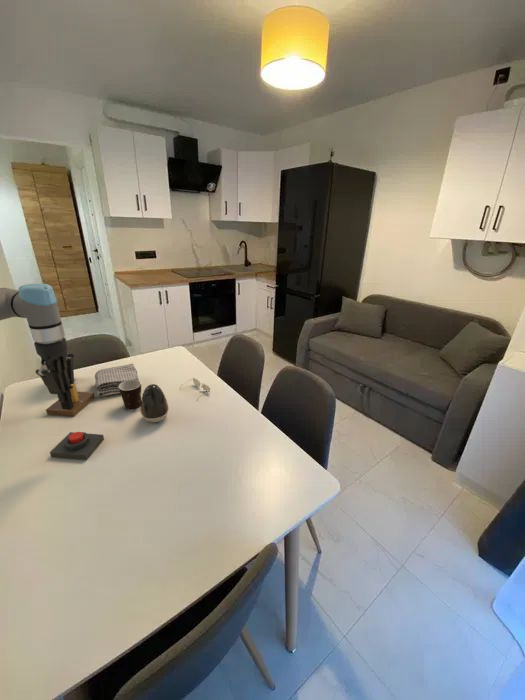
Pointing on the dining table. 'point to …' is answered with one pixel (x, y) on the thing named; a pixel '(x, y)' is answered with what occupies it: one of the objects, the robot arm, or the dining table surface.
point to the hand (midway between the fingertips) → (68, 408)
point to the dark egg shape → (154, 404)
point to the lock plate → (78, 406)
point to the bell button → (76, 437)
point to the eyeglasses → (199, 385)
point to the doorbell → (77, 447)
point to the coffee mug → (131, 393)
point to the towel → (114, 379)
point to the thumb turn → (74, 393)
